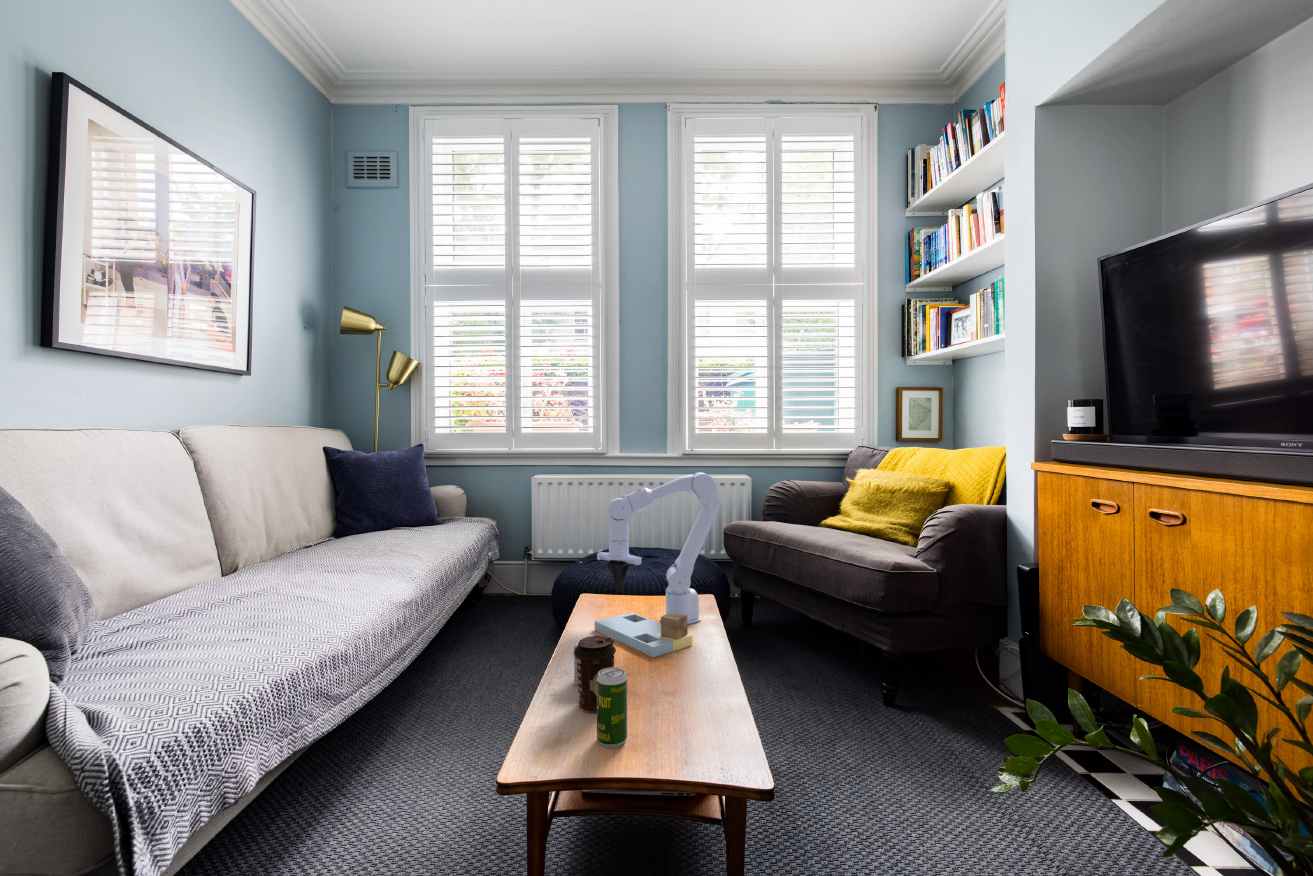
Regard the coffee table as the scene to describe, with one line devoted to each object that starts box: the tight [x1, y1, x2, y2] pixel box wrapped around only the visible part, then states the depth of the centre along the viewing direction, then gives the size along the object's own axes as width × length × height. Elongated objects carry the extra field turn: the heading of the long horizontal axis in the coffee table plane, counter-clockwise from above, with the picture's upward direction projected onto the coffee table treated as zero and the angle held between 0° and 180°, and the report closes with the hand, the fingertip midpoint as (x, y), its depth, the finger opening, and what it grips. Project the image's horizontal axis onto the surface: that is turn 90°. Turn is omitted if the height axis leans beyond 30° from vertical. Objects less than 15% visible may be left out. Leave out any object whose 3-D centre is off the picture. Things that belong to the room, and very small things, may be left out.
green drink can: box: [596, 667, 628, 749], centre depth 103 cm, size 5×5×12 cm
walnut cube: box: [660, 612, 689, 640], centre depth 151 cm, size 5×5×5 cm
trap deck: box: [594, 612, 693, 658], centre depth 156 cm, size 13×26×2 cm, turn 39°
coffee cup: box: [573, 635, 617, 714], centre depth 116 cm, size 9×8×13 cm
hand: (619, 586), depth 169 cm, fingers closed
